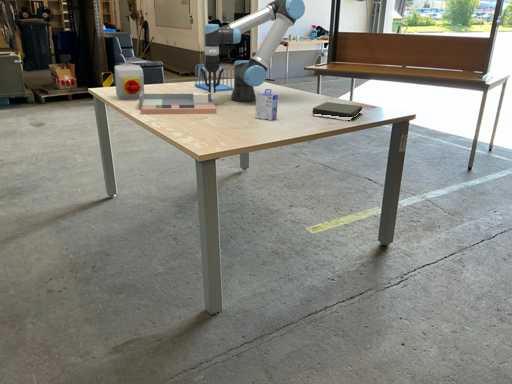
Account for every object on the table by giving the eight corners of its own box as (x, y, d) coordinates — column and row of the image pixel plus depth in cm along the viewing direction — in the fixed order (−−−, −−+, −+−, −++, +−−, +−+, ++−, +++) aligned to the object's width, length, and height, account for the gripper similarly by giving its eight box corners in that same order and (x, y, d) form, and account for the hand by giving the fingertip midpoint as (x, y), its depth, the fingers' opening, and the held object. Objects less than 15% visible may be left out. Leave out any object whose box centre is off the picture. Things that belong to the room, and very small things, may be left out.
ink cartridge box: (277, 119, 218) (278, 89, 212) (271, 121, 213) (273, 91, 208) (260, 116, 222) (261, 87, 217) (254, 118, 218) (255, 89, 212)
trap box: (212, 103, 251) (211, 90, 248) (216, 113, 225) (216, 100, 223) (142, 103, 244) (141, 91, 241) (138, 114, 219) (137, 100, 216)
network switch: (356, 123, 216) (357, 113, 214) (310, 118, 223) (311, 108, 222) (362, 114, 237) (363, 104, 235) (320, 109, 244) (320, 100, 242)
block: (207, 100, 246) (207, 92, 244) (208, 102, 238) (208, 94, 237) (193, 100, 244) (192, 92, 243) (193, 102, 237) (193, 94, 235)
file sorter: (194, 86, 305) (193, 64, 299) (216, 85, 314) (216, 63, 308) (210, 92, 285) (209, 68, 280) (233, 90, 294) (233, 67, 288)
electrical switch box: (120, 105, 248) (118, 70, 238) (116, 97, 260) (114, 63, 250) (146, 104, 254) (144, 70, 244) (141, 96, 265) (139, 63, 255)
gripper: (200, 55, 228) (200, 99, 237) (224, 55, 231) (224, 99, 240) (199, 53, 235) (200, 97, 244) (223, 54, 238) (223, 97, 246)
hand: (212, 98), depth 242 cm, fingers closed
